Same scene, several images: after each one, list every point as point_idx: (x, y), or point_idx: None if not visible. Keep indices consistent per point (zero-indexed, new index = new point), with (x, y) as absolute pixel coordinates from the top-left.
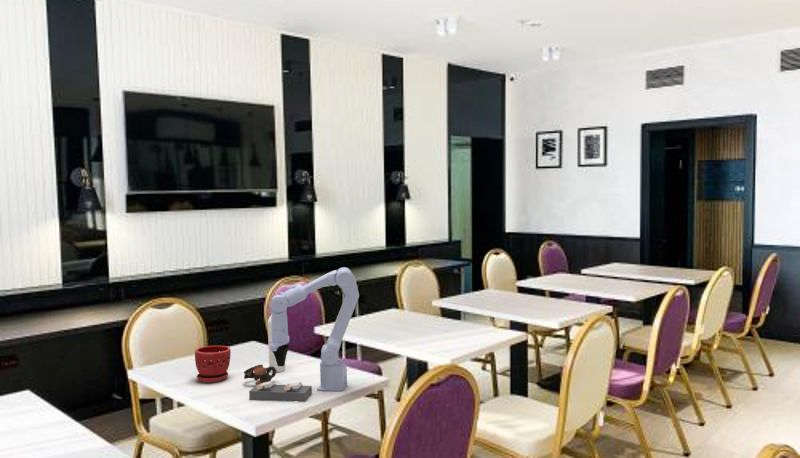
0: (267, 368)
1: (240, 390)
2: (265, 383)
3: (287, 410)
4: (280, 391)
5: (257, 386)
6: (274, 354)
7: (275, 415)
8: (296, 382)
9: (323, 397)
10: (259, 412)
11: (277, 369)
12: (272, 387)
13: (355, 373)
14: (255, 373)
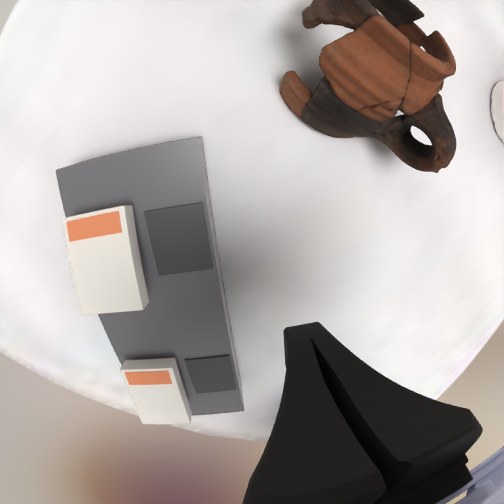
0: (428, 117)
1: (211, 21)
2: (98, 268)
3: (65, 367)
4: (120, 338)
5: (63, 225)
6: (274, 430)
7: (21, 348)
8: (184, 407)
9: (220, 416)
10: (5, 292)
11: (501, 122)
12: (157, 272)
13: (447, 377)
14: (326, 54)
